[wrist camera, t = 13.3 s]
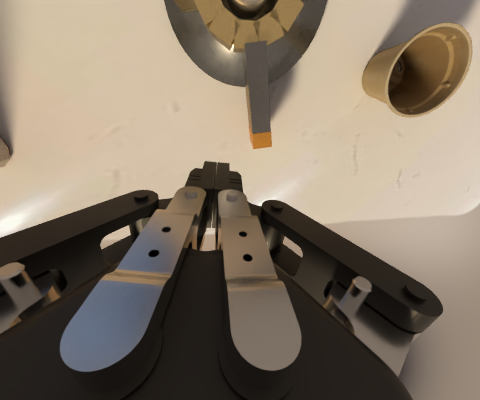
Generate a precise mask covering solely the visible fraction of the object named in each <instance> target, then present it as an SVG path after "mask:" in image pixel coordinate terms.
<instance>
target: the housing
mask: <svg viewBox="0 0 480 400" xmlns="http://www.w3.org/2000/svg"><path fill="white" fill-rule="evenodd" d="M164 1H165V6H166V10H167V13H168V17H169V20H170V23H171V25H172V28H173V30H174V32H175V35H176V37H177V39H178V41H179V42H180V44H181V46H182V47H183V49H184V50H185V52H186V53H187V55H188V56H189V57H190V58H191V60H192V61H193V62H194V63H195V64H196V65H197V66H198V67H199V68H200V69H201V70H203V71H204V72H205V73H206V74H208V75H209V76H211V77H213V78H214V79H216V80H218V81H221V82H223V83H225V84H229V85H233V86H240V87H246V86H245V75H244V64H243V54H242V53H236V52H233V49H234V44H233V46H232V48H231V50H230V51H229V50H228V49H227V48H226V47H224V46H223V45H222V44H221V43H219V42H218V41H217V40H215V39H214V38H213V37H212V36H211V33H209V32H208V30H207V27H206V25H205V23H204V21H203V19H202V17H201V14H200V12H199V10H197V11H190V12H182V11H181V9H180V8H179V7H178V5H177V4H176V3H175V1H174V0H164ZM221 1H222V3H223V6H224V7H225V8H226V9H227V10H228V11H229V12H231V13H232V14H233V15H234V16H235V17H236V18H238V19H239V20H250V21H257V20H259V19H260V18H262V17H263V16H265V15H266V14H268V13H270V12H271V10H272V9H273V7H274V5H275V0H221ZM326 1H327V0H304V1H303V3H304V6H303V7H302V9H301V11H300V12H299V14H298V16H297V17H296V19H295V21H294V22H293V24H292V26H291V27H290V29H289V30H288V32H287V33H285V34H284V36H283V37H281V38H280V39H279V40H277V41H276V42H274V43H273V44H271V45H269V46H268V47H267V58H268V81H269V82H270V81H272V80H274V79H276V78H278V77H280V76H281V75H283V74H284V73H286V72H287V71H288V70H289V69H290V68H291V67H293V66H294V65H295V64H296V62H297V61H298V60H299V59H300V58H301V57H302V55H303V54H304V53H305V51H306V50H307V48H308V47H309V45H310V43H311V42H312V40H313V38H314V36H315V34H316V32H317V30H318V27H319V25H320V22H321V19H322V16H323V13H324V9H325V5H326Z"/></svg>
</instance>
